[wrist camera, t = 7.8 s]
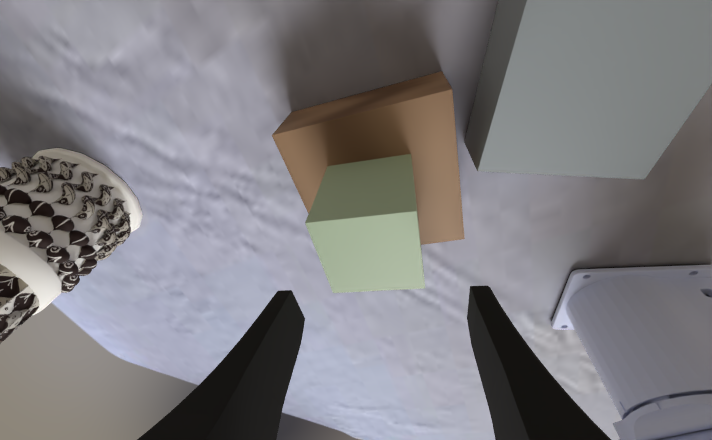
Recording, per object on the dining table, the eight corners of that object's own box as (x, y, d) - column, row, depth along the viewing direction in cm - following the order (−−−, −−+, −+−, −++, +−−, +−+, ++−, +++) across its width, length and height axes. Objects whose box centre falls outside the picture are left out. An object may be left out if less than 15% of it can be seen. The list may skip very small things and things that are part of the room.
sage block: (411, 153, 15) (416, 211, 11) (418, 222, 18) (425, 288, 14) (327, 166, 16) (305, 223, 12) (346, 229, 18) (333, 293, 15)
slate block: (696, -30, 12) (796, -37, 9) (600, 145, 17) (644, 179, 14) (503, -28, 13) (536, -33, 10) (463, 140, 18) (477, 171, 15)
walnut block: (441, 69, 16) (452, 89, 13) (454, 202, 21) (464, 238, 18) (293, 110, 18) (271, 135, 15) (337, 221, 23) (328, 256, 20)
